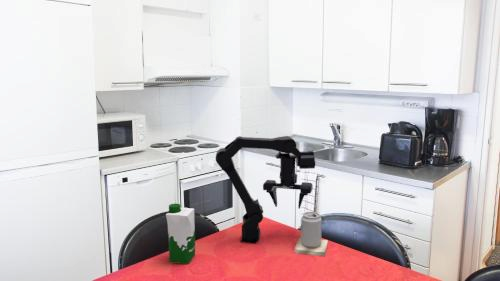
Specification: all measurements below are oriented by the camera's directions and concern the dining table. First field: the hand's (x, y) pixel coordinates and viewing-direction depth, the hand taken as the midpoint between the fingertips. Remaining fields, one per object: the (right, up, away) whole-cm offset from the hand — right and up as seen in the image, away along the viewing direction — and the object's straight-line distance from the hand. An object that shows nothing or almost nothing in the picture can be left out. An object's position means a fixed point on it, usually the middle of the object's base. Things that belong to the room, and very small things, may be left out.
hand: (287, 207), depth 158 cm
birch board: (+8, -14, -7) cm, 18 cm away
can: (+8, -13, -7) cm, 17 cm away
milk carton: (-39, -16, -14) cm, 45 cm away
